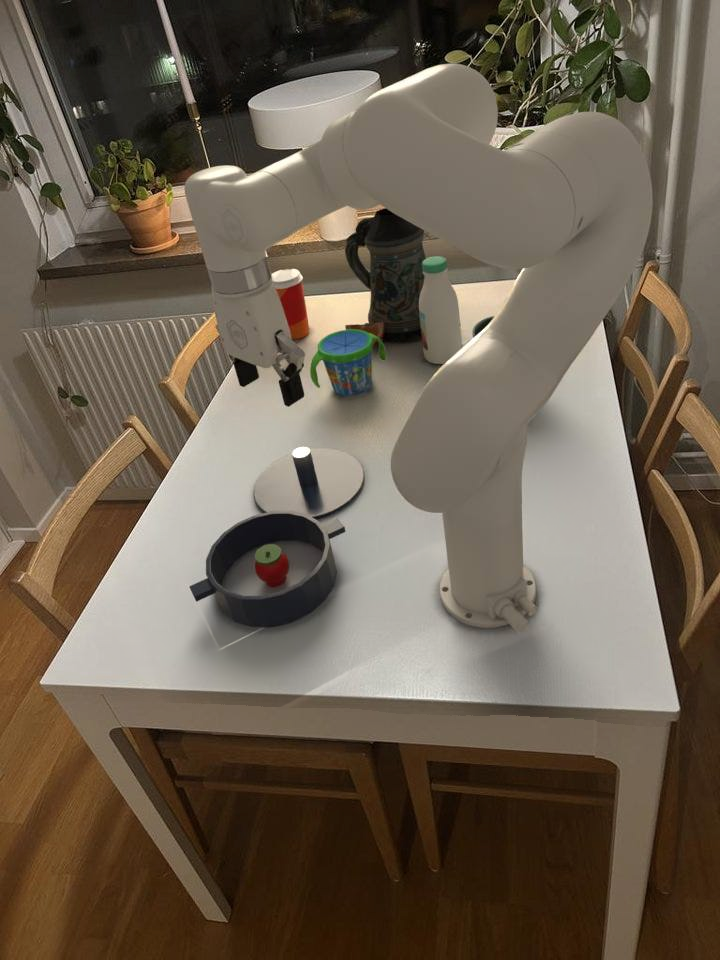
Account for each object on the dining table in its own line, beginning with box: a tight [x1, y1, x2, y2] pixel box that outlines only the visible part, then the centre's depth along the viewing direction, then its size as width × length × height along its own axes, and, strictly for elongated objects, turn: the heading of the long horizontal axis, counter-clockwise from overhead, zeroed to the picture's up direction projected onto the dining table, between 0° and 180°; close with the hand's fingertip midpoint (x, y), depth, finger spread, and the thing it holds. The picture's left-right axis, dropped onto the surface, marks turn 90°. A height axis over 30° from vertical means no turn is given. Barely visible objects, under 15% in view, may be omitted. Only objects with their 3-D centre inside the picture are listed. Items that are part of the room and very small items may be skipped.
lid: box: [253, 446, 365, 520], centre depth 120 cm, size 18×18×7 cm
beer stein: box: [344, 207, 427, 344], centre depth 154 cm, size 16×19×25 cm
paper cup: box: [271, 268, 310, 340], centre depth 163 cm, size 8×8×14 cm
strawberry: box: [254, 543, 290, 588], centre depth 104 cm, size 5×5×6 cm
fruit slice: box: [344, 322, 385, 347], centre depth 156 cm, size 8×7×5 cm
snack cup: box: [309, 329, 387, 397], centre depth 141 cm, size 16×11×10 cm
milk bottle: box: [419, 255, 463, 365], centre depth 143 cm, size 8×8×20 cm
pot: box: [189, 511, 347, 629], centre depth 104 cm, size 17×23×6 cm
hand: (271, 391), depth 102 cm, fingers open, 9 cm apart
